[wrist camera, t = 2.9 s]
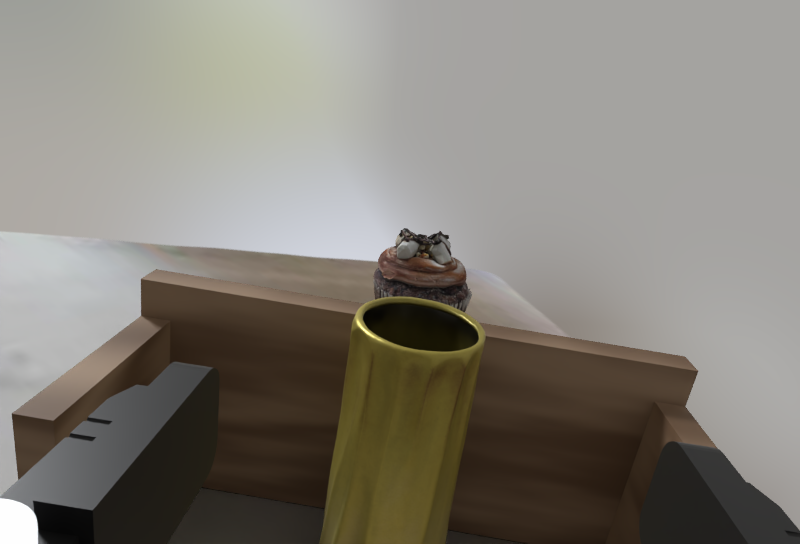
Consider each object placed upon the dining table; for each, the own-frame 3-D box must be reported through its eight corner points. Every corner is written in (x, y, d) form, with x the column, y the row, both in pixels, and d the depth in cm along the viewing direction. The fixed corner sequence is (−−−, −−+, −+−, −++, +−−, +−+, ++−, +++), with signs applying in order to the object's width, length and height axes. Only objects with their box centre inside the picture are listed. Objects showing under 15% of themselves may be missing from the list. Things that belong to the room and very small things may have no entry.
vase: (369, 523, 30) (408, 282, 25) (461, 595, 26) (526, 332, 22) (281, 590, 25) (309, 311, 21) (378, 689, 22) (439, 380, 17)
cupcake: (378, 352, 49) (394, 246, 46) (360, 308, 58) (373, 216, 55) (476, 354, 52) (498, 254, 48) (445, 311, 60) (462, 224, 57)
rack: (813, 1025, 15) (1040, 744, 11) (-142, 845, 16) (-239, 518, 12) (619, 539, 32) (685, 356, 28) (155, 459, 32) (156, 269, 28)
